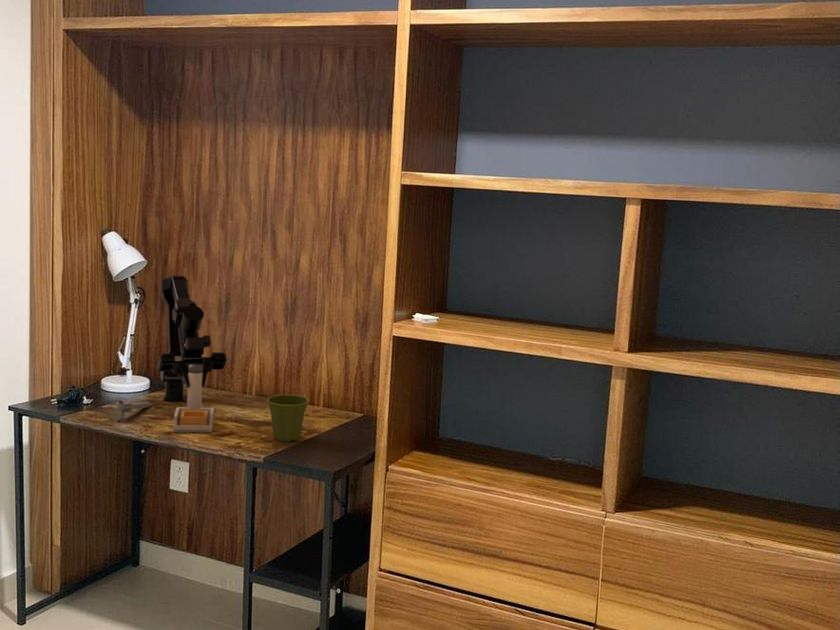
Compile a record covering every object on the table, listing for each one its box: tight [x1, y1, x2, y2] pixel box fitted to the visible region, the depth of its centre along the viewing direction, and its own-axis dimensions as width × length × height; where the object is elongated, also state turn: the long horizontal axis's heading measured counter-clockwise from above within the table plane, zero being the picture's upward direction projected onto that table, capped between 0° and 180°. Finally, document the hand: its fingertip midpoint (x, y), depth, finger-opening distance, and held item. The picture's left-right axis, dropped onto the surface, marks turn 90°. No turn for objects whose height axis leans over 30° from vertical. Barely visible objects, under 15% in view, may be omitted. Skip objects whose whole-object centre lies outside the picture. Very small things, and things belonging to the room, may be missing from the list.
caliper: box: [115, 399, 153, 422], centre depth 256 cm, size 20×1×6 cm, turn 171°
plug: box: [186, 364, 203, 409], centre depth 244 cm, size 4×4×12 cm
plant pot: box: [266, 394, 310, 442], centre depth 241 cm, size 12×12×11 cm
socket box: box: [172, 406, 215, 434], centre depth 245 cm, size 11×11×4 cm
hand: (195, 386), depth 243 cm, fingers closed on plug, 4 cm apart
